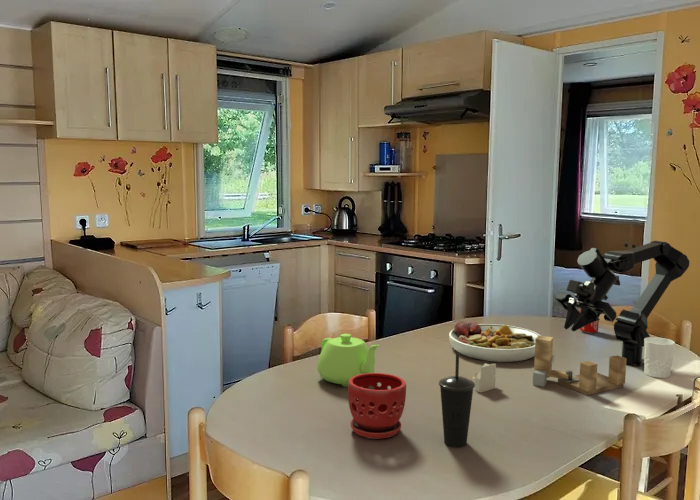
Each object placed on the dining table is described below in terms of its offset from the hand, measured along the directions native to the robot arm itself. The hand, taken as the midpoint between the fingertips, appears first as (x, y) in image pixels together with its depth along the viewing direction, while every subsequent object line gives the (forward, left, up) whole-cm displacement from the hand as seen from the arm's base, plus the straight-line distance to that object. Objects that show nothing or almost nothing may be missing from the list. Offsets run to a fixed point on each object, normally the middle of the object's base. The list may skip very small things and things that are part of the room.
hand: (568, 329), depth 178 cm
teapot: (+44, -45, -14) cm, 64 cm away
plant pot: (+65, -19, -14) cm, 69 cm away
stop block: (+12, -3, -14) cm, 18 cm away
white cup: (-17, +20, -14) cm, 30 cm away
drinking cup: (+59, -2, -14) cm, 60 cm away
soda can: (-50, -11, -14) cm, 53 cm away
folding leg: (+8, -1, -12) cm, 14 cm away
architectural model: (+25, -13, -14) cm, 32 cm away
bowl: (-9, -27, -14) cm, 32 cm away
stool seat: (+4, +8, -14) cm, 16 cm away
